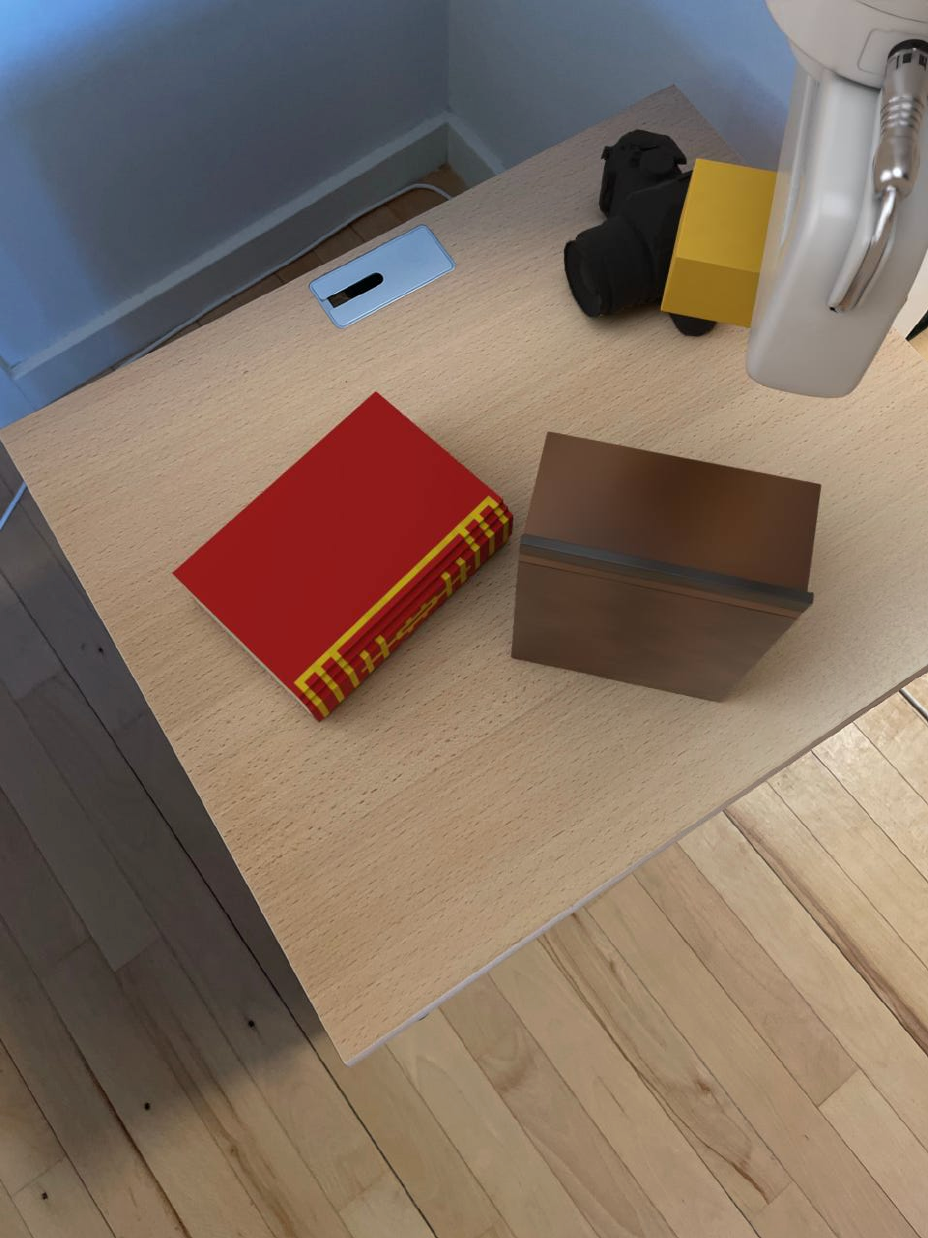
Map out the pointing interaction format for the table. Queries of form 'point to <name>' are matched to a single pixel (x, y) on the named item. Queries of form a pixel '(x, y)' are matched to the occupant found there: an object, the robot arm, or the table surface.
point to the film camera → (633, 230)
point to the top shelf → (673, 524)
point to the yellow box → (720, 243)
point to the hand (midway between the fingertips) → (788, 257)
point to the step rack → (638, 632)
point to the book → (346, 554)
